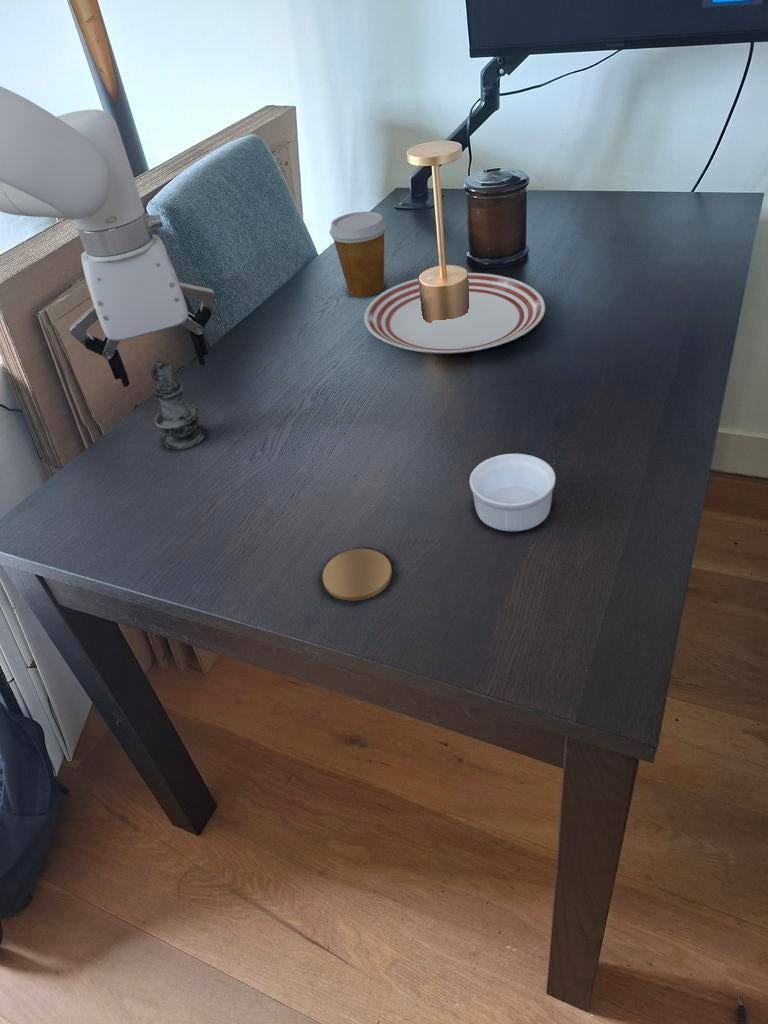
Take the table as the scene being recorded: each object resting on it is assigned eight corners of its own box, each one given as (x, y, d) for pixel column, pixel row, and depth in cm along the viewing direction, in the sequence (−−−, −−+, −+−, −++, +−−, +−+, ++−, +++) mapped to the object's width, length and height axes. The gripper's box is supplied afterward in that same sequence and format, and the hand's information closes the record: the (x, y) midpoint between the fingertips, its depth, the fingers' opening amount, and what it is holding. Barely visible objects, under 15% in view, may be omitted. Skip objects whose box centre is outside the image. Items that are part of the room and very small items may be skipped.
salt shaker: (215, 431, 102) (190, 350, 94) (185, 455, 98) (156, 372, 91) (184, 422, 105) (157, 343, 97) (153, 445, 101) (123, 364, 94)
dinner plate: (556, 290, 123) (557, 270, 121) (528, 374, 104) (528, 352, 101) (396, 288, 132) (394, 270, 130) (342, 365, 112) (338, 345, 110)
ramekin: (522, 548, 77) (522, 515, 74) (454, 516, 82) (452, 484, 79) (571, 502, 82) (572, 470, 79) (503, 475, 87) (502, 443, 84)
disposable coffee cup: (376, 274, 138) (367, 206, 130) (403, 289, 131) (395, 219, 124) (330, 289, 135) (318, 221, 127) (355, 306, 128) (344, 235, 120)
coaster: (335, 610, 73) (334, 605, 73) (315, 565, 79) (314, 561, 78) (402, 586, 75) (401, 582, 74) (378, 544, 80) (377, 540, 80)
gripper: (187, 208, 89) (225, 340, 100) (37, 244, 86) (93, 377, 97) (197, 226, 83) (236, 364, 94) (37, 266, 80) (96, 404, 91)
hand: (164, 371), depth 95 cm, fingers open, 9 cm apart
